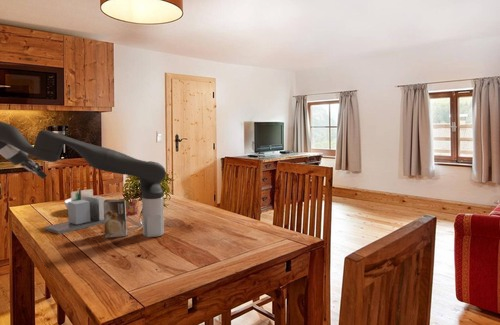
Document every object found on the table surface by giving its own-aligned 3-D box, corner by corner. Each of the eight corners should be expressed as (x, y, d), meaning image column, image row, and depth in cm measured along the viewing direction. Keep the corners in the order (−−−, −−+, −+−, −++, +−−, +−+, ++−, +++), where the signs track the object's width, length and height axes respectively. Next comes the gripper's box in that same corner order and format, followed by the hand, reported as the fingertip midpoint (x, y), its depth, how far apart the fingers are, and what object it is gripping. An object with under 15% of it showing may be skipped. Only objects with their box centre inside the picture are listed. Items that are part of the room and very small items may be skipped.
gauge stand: (58, 234, 158) (56, 199, 157) (45, 229, 165) (43, 196, 164) (106, 222, 178) (105, 191, 176) (92, 218, 185) (91, 189, 183)
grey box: (76, 224, 168) (75, 193, 166) (67, 221, 172) (66, 191, 171) (90, 221, 173) (89, 191, 172) (81, 218, 178) (80, 189, 176)
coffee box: (127, 232, 163) (126, 198, 161) (126, 236, 156) (125, 201, 155) (106, 233, 160) (105, 199, 159) (104, 238, 154) (103, 202, 152)
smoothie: (120, 214, 195) (119, 178, 193) (132, 211, 202) (131, 176, 200) (131, 216, 191) (130, 180, 189) (142, 213, 198) (142, 178, 196)
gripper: (-1, 157, 148) (31, 182, 160) (12, 159, 141) (46, 185, 152) (12, 144, 152) (43, 169, 163) (26, 145, 145) (58, 171, 156)
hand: (44, 177), depth 158 cm, fingers closed
